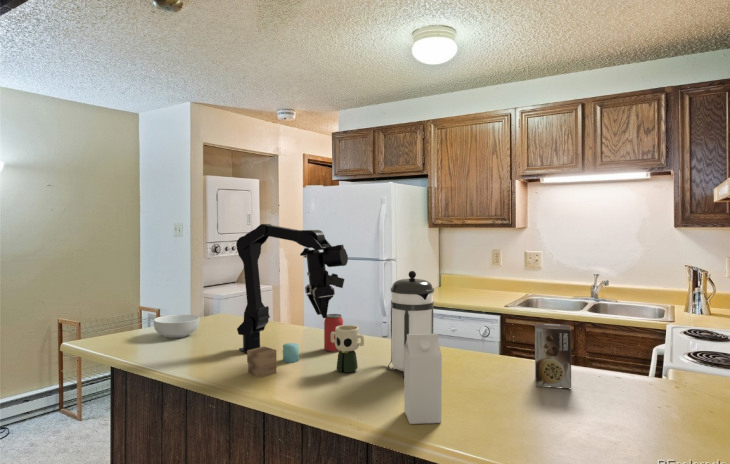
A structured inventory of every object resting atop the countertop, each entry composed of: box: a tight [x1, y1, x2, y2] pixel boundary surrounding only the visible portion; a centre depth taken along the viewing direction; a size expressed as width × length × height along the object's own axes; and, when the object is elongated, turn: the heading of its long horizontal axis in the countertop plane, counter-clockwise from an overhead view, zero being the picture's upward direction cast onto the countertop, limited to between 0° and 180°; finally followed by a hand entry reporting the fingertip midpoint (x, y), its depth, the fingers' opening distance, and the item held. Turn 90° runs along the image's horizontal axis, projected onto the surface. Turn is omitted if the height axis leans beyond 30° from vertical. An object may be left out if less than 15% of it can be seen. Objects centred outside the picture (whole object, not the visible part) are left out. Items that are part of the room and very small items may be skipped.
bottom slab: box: [247, 361, 277, 378], centre depth 136 cm, size 6×6×4 cm
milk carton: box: [403, 333, 443, 425], centre depth 105 cm, size 7×7×19 cm
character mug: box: [331, 324, 365, 373], centre depth 138 cm, size 11×7×13 cm, turn 67°
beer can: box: [323, 313, 344, 353], centre depth 161 cm, size 7×7×12 cm
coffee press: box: [387, 270, 435, 380], centre depth 138 cm, size 17×16×30 cm
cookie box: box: [534, 322, 572, 389], centre depth 127 cm, size 9×6×16 cm
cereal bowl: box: [153, 314, 201, 339], centre depth 181 cm, size 17×17×7 cm
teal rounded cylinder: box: [282, 342, 300, 364], centre depth 149 cm, size 5×5×5 cm
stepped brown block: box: [246, 346, 277, 366], centre depth 136 cm, size 6×6×4 cm
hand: (321, 316), depth 150 cm, fingers open, 9 cm apart
